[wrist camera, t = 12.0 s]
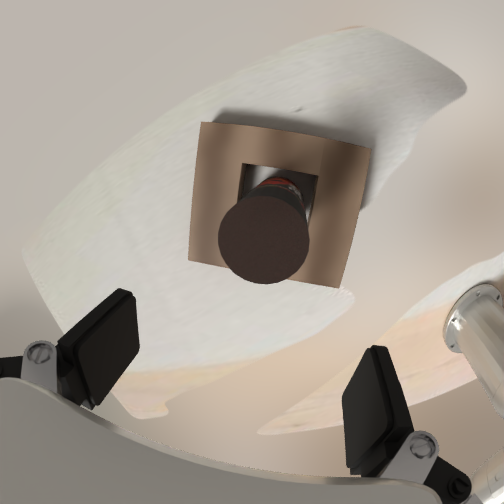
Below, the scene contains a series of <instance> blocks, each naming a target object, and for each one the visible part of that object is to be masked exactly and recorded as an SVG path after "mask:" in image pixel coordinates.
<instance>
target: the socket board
mask: <svg viewBox="0 0 504 504" xmlns="http://www.w3.org/2000/svg"><path fill="white" fill-rule="evenodd" d="M370 154H371V149H369V148H365V147H361V146H357V145H353V144H349V143H345V142H341V141H336V140H332V139H327V138H322V137H317V136H312V135H307V134H301V133H296V132H290V131H283V130H277V129H270V128H263V127H255V126H246V125H237V124H226V123H214V122H201V127H200V134H199V142H198V150H197V158H196V167H195V177H194V187H193V197H192V209H191V222H190V236H189V252H188V260H190V261H195V262H200V263H205V264H210V265H215V266H220V267H225V268H229V267H228V266H227V265H226V263H225V261H224V260H223V258H222V256H221V253H220V250H219V246H218V231H219V227H220V223H221V221H222V219H223V218H224V216H225V214H226V213H227V211H229V210H230V209H231V208H232V207H233V206H234V205H235V204H236V203H237V202H238V201H240V200H241V199H242V193H243V186H244V178H245V171H246V164H254V165H261V166H268V167H274V168H280V169H286V170H291V171H297V172H302V173H308V174H313V175H316V179H315V185H314V190H313V196H312V201H311V207H310V212H309V217H308V222H307V225H308V231H309V238H310V243H309V252H308V254H307V257H306V259H305V262H304V263H303V265H302V266H301V267H300V269H299V270H298V271H297V272H296V273H295V274H293V275H292V276H291V277H289V278H288V280H294V281H299V282H305V283H311V284H316V285H322V286H328V287H333V288H339V287H340V283H341V280H342V277H343V273H344V270H345V266H346V262H347V259H348V255H349V251H350V247H351V244H352V240H353V235H354V231H355V228H356V223H357V219H358V214H359V210H360V206H361V201H362V196H363V192H364V187H365V182H366V177H367V171H368V166H369V160H370Z"/></svg>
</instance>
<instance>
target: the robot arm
mask: <svg viewBox="0 0 504 504" xmlns="http://www.w3.org/2000/svg"><path fill="white" fill-rule="evenodd" d="M443 337H444V341H445V343H446V345H447V347H448V348H449V349H450V350H451V351H452V352H455V353H463V354H464V356H465V357H466V359H467V361H468V362H469V364H470V366H471V367H472V369H473V371H474V372H475V374H476V376H477V377H478V379H479V381H480V383H481V384H482V386H483V388H484V390H485V392H486V394H487V395H488V397H489V399H490V401H491V403H492V405H493V407H494V409H495V410H496V412H497V413H498V414H499V416H500V417H502V418H503V419H504V308H503V299H502V295H501V293H500V291H499V290H498V289H497V288H496V287H494V286H493V285H490V284H482V285H479V286H476V287H474V288H472V289H471V290H469V291H468V292H467V293H465V294H464V295H463V296H462V297H461V298H460V299H459V300H458V302H457V303H456V304H455V305H454V307H453V308H452V310H451V311H450V313H449V315H448V317H447V320H446V323H445V326H444V334H443ZM139 348H140V344H139V334H138V323H137V311H136V298H135V297H134V296H133V294H132V292H130V291H127V290H124V289H121V288H118V289H117V290H115V291H114V292H113V293H112V294H111V295H110V296H108V297H107V298H106V299H105V300H104V301H102V302H101V303H100V304H99V305H98V306H97V307H95V308H94V309H93V310H92V311H91V312H90V313H88V314H87V315H86V316H85V317H84V318H83V319H82V320H80V321H79V322H78V323H77V324H76V325H75V326H74V327H73V328H71V329H70V330H69V331H68V332H67V333H66V334H65V335H64V336H63V337H61V338H60V339H59V340H58V344H57V345H56V346H54V345H53V344H52V343H51V342H48V341H35V342H33V343H31V344H30V345H28V347H27V348H26V349H25V351H24V354H23V356H16V357H6V358H0V504H504V447H503V448H501V449H500V450H499V451H498V452H497V453H495V454H494V455H493V456H492V457H491V458H489V459H488V460H487V461H486V462H484V463H483V464H482V465H481V466H480V467H479V468H478V469H477V470H476V471H475V472H474V473H473V475H472V477H471V478H470V479H469V477H468V476H466V474H464V473H463V472H461V471H459V470H458V469H456V468H455V467H454V466H452V465H451V464H449V463H448V462H446V461H445V460H443V459H442V458H440V457H439V456H438V452H439V445H438V442H437V440H436V439H435V437H433V436H432V435H431V434H430V433H428V432H425V431H415V432H414V428H413V424H412V421H411V417H410V414H409V410H408V407H407V403H406V400H405V397H404V394H403V391H402V387H401V384H400V382H399V380H398V377H397V374H396V371H395V368H394V365H393V363H392V360H391V357H390V354H389V351H388V349H387V347H385V346H377V345H372V346H371V348H367V349H366V351H365V353H364V355H363V357H362V359H361V361H360V363H359V365H358V367H357V369H356V371H355V372H354V374H353V376H352V378H351V380H350V382H349V384H348V385H347V387H346V389H345V391H344V393H343V395H342V409H343V420H344V432H345V449H346V465H347V467H348V468H350V474H351V475H361V477H356V478H355V477H322V476H308V475H296V474H287V473H279V472H272V471H265V470H259V469H253V468H248V467H243V466H238V465H233V464H229V463H224V462H220V461H216V460H212V459H208V458H205V457H201V456H198V455H194V454H191V453H188V452H185V451H182V450H178V449H175V448H172V447H169V446H167V445H164V444H161V443H158V442H156V441H153V440H151V439H148V438H145V437H143V436H140V435H138V434H136V433H133V432H131V431H129V430H126V429H124V428H122V427H120V426H118V425H116V424H113V423H111V422H109V421H107V420H105V419H103V418H101V417H99V416H97V415H95V414H93V413H91V412H89V411H87V410H86V409H84V408H82V407H80V405H83V406H85V407H87V408H88V409H90V410H93V408H94V407H95V405H97V406H98V405H100V404H101V402H102V401H103V400H104V398H105V397H106V395H107V394H108V393H109V391H110V390H111V389H112V387H113V386H114V385H115V383H116V382H117V380H118V379H119V378H120V376H121V375H122V374H123V372H124V371H125V370H126V368H127V367H128V366H129V364H130V363H131V362H132V360H133V359H134V358H135V356H136V355H137V354H138V352H139Z"/></svg>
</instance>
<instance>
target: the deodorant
mask: <svg viewBox="0 0 504 504" xmlns="http://www.w3.org/2000/svg"><path fill="white" fill-rule="evenodd" d="M309 243H310V238H309V231H308V225H307V219H306V213H305V207H304V201H303V196H302V193H301V191H300V189H299V188H298V187H297V185H296V184H295V183H293V182H292V181H290V180H289V179H286V178H283V177H273V178H268V179H267V180H265V181H263V182H262V183H260V184H259V185H258V186H257V187H255V188H254V189H253V190H252V191H250V192H249V193H248V194H247V195H246V196H244V197H243V198H242V199H241V200H240V201H238V202H237V203H236V204H235V205H234V206H233V207H232V208H231V209H230V210H229V211H227V213H226V214H225V216H224V218H223V219H222V221H221V223H220V227H219V231H218V246H219V250H220V253H221V256H222V258H223V260H224V261H225V263H226V265H227V266H228V267H229V268H230V269H231V270H232V271H233V272H234V273H235V274H236V275H238V276H240V277H241V278H243V279H244V280H247V281H250V282H253V283H258V284H272V283H278V282H280V281H283V280H285V279H288V278H289V277H291V276H292V275H293V274H295V273H296V272H297V271H298V270H299V269H300V267H301V266H302V265H303V263H304V262H305V259H306V257H307V254H308V252H309Z"/></svg>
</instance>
